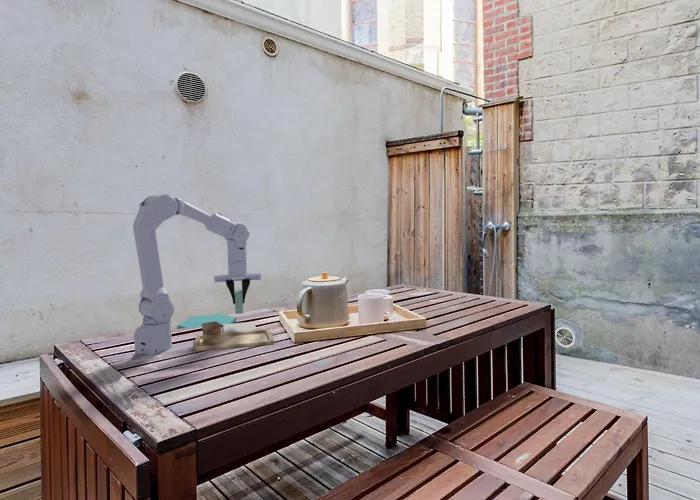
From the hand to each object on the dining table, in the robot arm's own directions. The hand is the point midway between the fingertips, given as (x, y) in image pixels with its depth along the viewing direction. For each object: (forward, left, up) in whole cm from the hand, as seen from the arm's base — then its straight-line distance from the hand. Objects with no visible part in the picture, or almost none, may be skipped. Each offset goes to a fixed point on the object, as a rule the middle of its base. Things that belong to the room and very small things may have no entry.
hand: (238, 303), depth 142 cm
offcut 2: (-15, 0, -9) cm, 17 cm away
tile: (0, 0, -10) cm, 10 cm away
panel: (0, 0, -3) cm, 3 cm away
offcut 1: (-15, 0, -6) cm, 16 cm away
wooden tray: (-12, -5, -10) cm, 16 cm away
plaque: (+6, +17, -10) cm, 21 cm away
